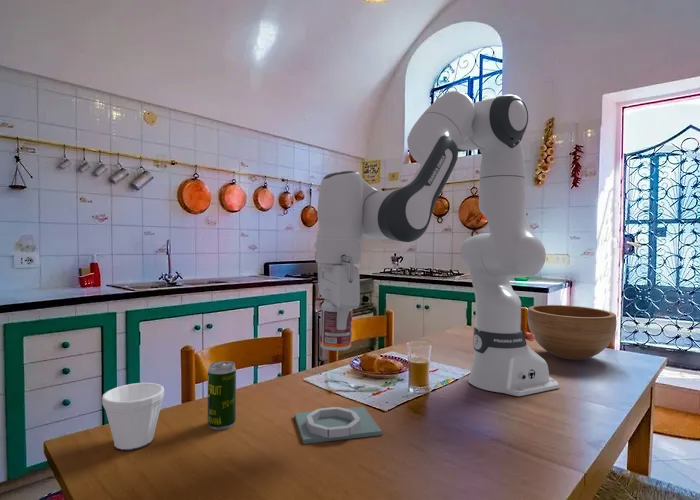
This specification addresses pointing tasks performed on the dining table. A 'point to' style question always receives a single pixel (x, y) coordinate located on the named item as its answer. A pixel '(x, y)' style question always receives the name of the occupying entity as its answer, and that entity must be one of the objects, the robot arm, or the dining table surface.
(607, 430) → the dining table surface
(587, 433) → the dining table surface
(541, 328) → the bowl
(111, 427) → the cup
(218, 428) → the green soda can
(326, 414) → the collar board
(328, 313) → the pill bottle
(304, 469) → the dining table surface
